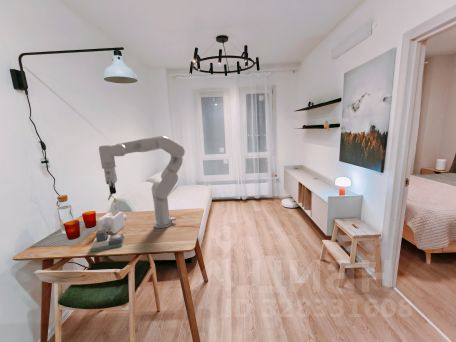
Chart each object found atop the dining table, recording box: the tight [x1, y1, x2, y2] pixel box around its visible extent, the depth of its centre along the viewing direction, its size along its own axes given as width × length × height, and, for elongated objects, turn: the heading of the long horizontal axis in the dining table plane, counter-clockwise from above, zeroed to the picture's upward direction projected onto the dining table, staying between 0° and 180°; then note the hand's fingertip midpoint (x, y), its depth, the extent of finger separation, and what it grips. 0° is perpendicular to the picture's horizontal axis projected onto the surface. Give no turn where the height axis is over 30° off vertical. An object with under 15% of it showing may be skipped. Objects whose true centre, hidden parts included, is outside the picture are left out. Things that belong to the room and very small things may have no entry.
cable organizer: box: [96, 211, 126, 234], centre depth 149 cm, size 15×11×12 cm
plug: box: [95, 229, 108, 242], centre depth 130 cm, size 5×4×8 cm
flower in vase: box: [107, 193, 127, 220], centre depth 165 cm, size 13×11×25 cm
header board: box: [90, 233, 125, 253], centre depth 132 cm, size 16×12×4 cm
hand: (113, 193), depth 137 cm, fingers closed
